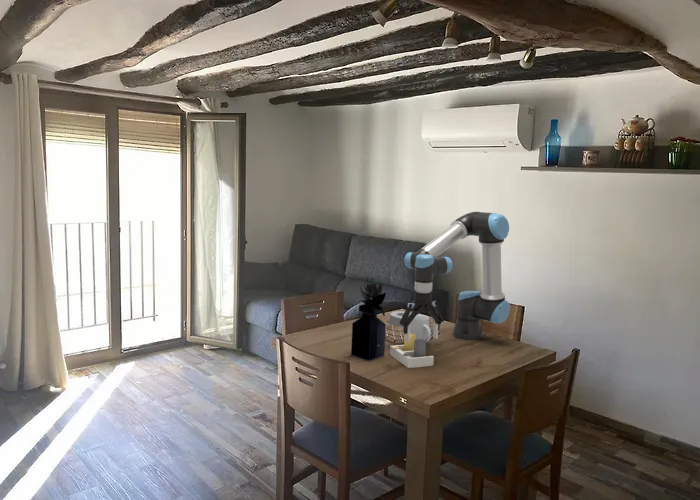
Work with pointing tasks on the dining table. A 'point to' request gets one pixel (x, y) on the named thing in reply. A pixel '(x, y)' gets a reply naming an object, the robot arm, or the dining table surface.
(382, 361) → the dining table surface
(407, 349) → the ochre plug
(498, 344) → the dining table surface
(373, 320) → the vase
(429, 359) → the comb rack
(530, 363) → the dining table surface
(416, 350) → the charcoal plug
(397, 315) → the grey wheel
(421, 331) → the mug
